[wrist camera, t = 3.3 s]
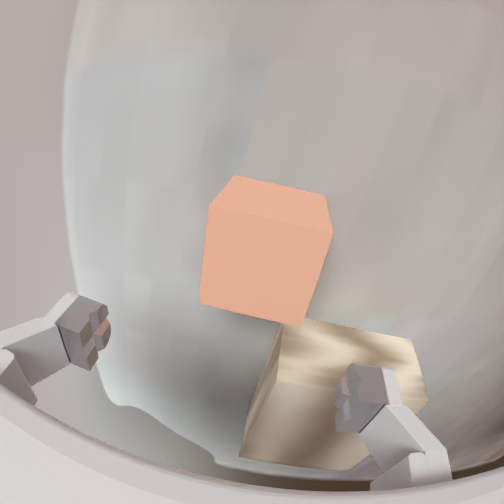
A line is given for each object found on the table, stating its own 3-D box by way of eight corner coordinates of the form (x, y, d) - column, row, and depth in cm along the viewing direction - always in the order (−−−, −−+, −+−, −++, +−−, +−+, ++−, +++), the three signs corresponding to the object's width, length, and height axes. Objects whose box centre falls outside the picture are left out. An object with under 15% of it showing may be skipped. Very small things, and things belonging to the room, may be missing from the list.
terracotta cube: (324, 195, 16) (333, 233, 12) (302, 272, 18) (300, 326, 14) (234, 175, 16) (209, 205, 12) (222, 253, 19) (198, 303, 14)
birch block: (410, 337, 20) (428, 400, 15) (347, 418, 26) (348, 470, 21) (284, 310, 20) (276, 380, 15) (249, 402, 26) (238, 456, 21)
